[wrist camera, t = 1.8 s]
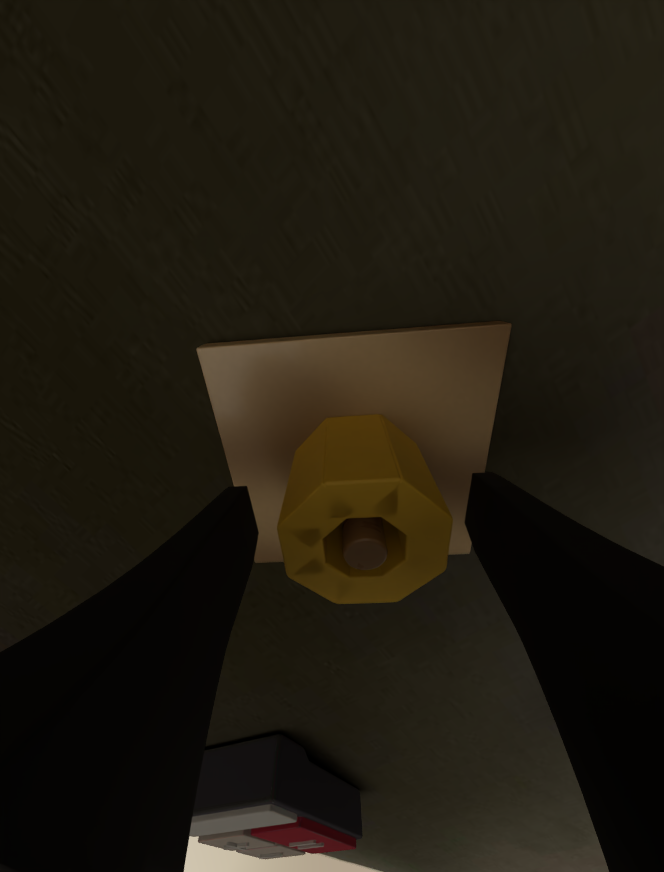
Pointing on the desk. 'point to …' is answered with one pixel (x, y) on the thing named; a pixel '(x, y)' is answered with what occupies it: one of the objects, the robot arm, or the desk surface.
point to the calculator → (273, 801)
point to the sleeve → (362, 511)
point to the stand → (357, 412)
